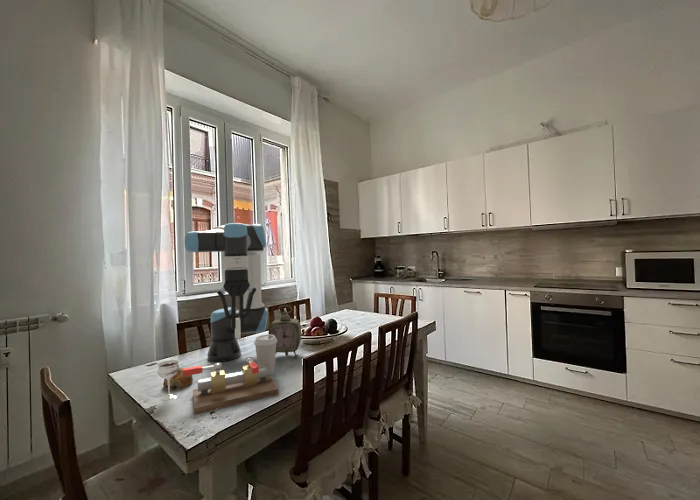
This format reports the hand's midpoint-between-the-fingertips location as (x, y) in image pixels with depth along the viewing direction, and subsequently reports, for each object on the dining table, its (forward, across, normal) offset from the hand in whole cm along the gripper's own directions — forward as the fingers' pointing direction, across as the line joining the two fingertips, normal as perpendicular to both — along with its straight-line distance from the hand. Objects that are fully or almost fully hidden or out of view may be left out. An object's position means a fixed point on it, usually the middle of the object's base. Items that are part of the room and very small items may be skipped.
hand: (237, 337), depth 107 cm
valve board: (+22, 0, +6) cm, 23 cm away
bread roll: (+22, -19, +27) cm, 40 cm away
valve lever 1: (+13, -11, +9) cm, 19 cm away
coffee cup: (+22, +14, +21) cm, 34 cm away
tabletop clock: (+22, +27, +36) cm, 50 cm away
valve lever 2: (+13, +5, +4) cm, 14 cm away
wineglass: (+22, -21, +17) cm, 35 cm away
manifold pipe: (+20, 0, +9) cm, 22 cm away
